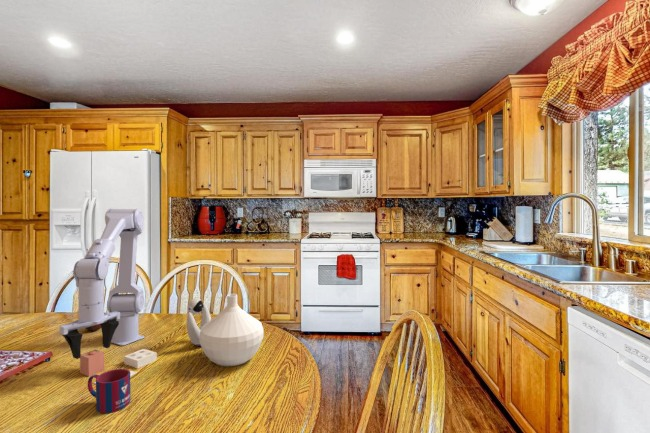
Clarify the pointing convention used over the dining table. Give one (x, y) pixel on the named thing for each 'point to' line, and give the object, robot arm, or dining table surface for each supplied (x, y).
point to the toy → (192, 328)
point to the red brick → (92, 362)
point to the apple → (94, 327)
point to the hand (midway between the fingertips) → (92, 352)
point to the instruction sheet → (130, 374)
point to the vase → (231, 335)
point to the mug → (111, 390)
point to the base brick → (140, 358)
